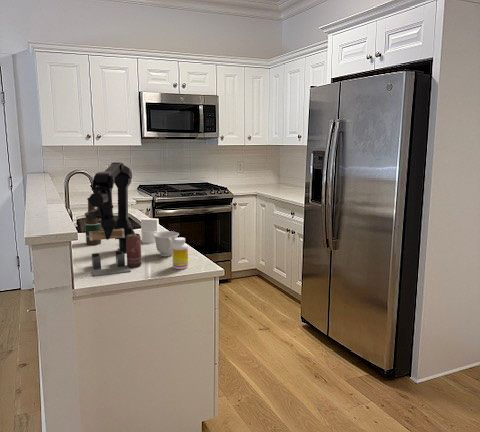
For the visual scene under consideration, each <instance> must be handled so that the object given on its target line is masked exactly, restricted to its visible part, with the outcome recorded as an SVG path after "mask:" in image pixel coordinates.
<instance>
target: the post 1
mask: <svg viewBox="0 0 480 432" xmlns="http://www.w3.org/2000/svg"><path fill="white" fill-rule="evenodd" d="M101 261H102V260H101V256H100V253H99V252H98V253H91V264H92V268H93V269H92V270H99V269H102V262H101Z"/></svg>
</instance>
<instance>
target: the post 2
mask: <svg viewBox="0 0 480 432" xmlns="http://www.w3.org/2000/svg"><path fill="white" fill-rule="evenodd" d="M125 257H126V255H125V253H124V252H123V251H118V250H116V251H115V264H116V267H124V266H126V259H125Z"/></svg>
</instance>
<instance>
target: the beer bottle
mask: <svg viewBox="0 0 480 432" xmlns="http://www.w3.org/2000/svg"><path fill="white" fill-rule="evenodd" d="M89 198H90V196H89V197H87V212H89V211H91V210H94V209H96V207H94V206H92V205H91V204H90V202H89ZM98 221H100V219H98V220H97V218H96V219H94V220H92V221H90V222H88V221H87V219H86V217H85V219H84V230H85V242H86V243H85V244H86V245H87V246H98V245H101V244H102V240H93V241H90V239H89V231H100V230H101V226H100V223H99V222H98Z"/></svg>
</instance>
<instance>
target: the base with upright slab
mask: <svg viewBox="0 0 480 432" xmlns="http://www.w3.org/2000/svg"><path fill="white" fill-rule="evenodd" d="M159 224H160V223H159V218H153V217H152V218H150V217H147V218H146V217H141V218H140V229H141V232H140V233H141V243H142V244H147V245H148V244H151V245H152V244H156V242H155V237H154V236H153V234H155V233H157V232H160V226H159Z"/></svg>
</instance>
